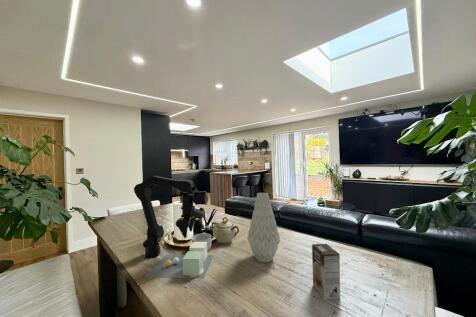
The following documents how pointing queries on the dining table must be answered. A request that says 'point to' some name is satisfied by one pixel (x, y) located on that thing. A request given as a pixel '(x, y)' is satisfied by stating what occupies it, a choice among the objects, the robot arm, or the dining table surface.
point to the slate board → (176, 267)
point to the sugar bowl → (224, 231)
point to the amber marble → (168, 263)
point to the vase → (263, 230)
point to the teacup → (203, 239)
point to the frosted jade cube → (193, 263)
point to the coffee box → (326, 271)
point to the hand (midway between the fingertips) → (188, 234)
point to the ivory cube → (199, 248)
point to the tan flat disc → (195, 275)
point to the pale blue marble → (175, 260)
